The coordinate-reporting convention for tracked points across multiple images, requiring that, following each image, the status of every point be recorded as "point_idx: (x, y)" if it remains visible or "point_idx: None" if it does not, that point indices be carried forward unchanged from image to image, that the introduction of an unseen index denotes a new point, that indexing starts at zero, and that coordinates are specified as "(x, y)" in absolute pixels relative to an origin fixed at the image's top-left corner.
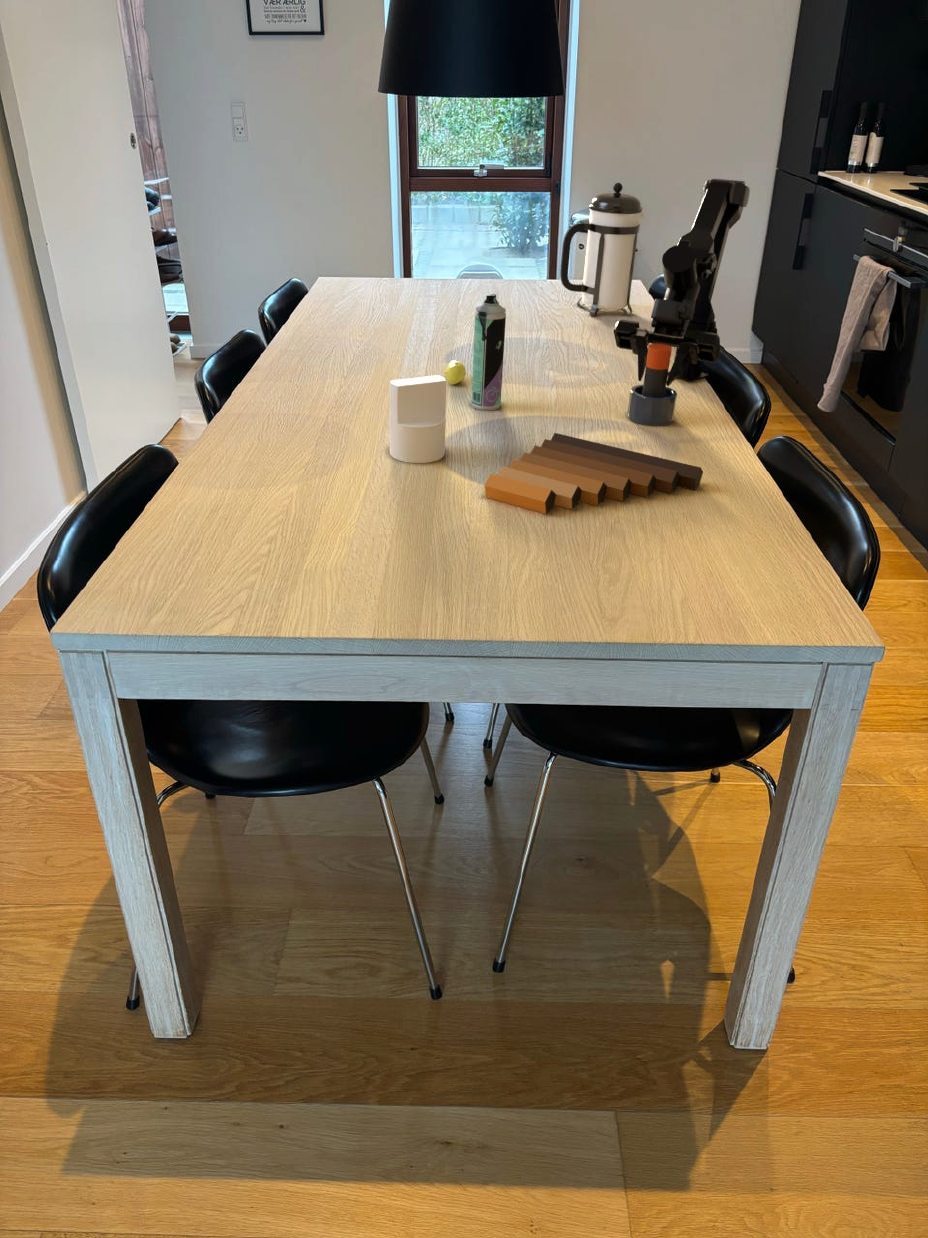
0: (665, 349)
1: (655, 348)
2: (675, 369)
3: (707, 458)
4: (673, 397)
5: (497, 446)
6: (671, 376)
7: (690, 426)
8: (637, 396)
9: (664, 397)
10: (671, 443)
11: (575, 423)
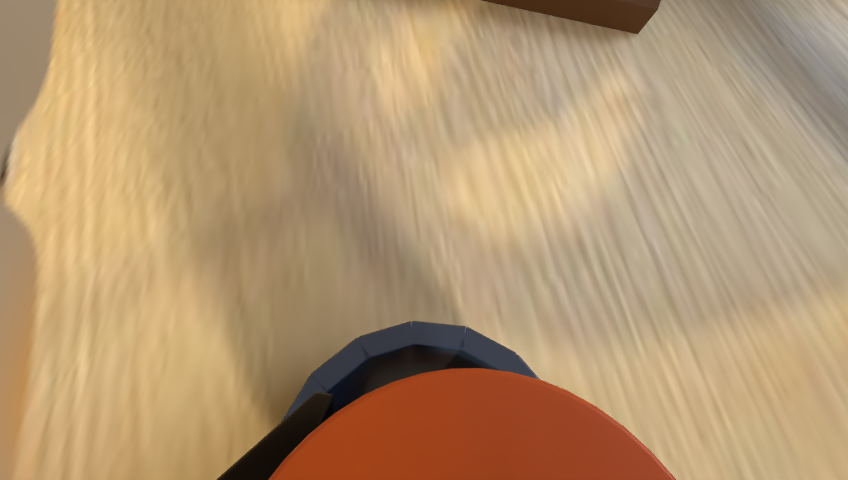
0: (344, 443)
1: (549, 429)
2: (228, 477)
3: (198, 102)
4: (289, 410)
5: (779, 17)
6: (285, 424)
7: (222, 414)
8: (509, 351)
9: (347, 373)
10: (314, 185)
11: (687, 258)
